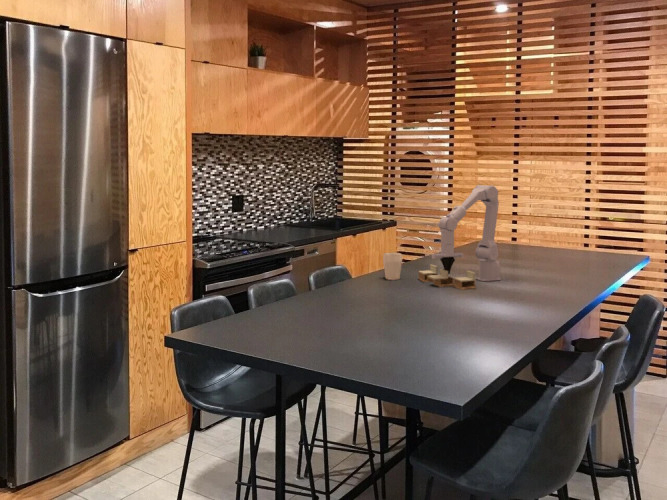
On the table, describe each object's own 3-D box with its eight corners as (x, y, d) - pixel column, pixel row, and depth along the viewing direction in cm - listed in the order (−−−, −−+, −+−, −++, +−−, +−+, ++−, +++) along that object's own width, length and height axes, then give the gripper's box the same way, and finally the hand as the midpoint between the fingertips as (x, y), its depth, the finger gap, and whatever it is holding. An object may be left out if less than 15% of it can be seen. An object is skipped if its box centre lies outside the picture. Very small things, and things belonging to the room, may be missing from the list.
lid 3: (468, 278, 300) (468, 270, 299) (475, 280, 293) (475, 272, 293) (454, 279, 298) (454, 271, 298) (460, 281, 292) (461, 273, 291)
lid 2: (441, 276, 306) (441, 268, 306) (448, 278, 300) (448, 271, 299) (427, 276, 305) (427, 269, 304) (433, 279, 298) (433, 271, 298)
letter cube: (428, 279, 317) (429, 273, 317) (432, 280, 315) (432, 274, 314) (423, 280, 316) (423, 274, 316) (427, 281, 313) (427, 275, 313)
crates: (447, 277, 321) (447, 270, 321) (475, 288, 294) (475, 280, 293) (418, 279, 318) (418, 272, 317) (443, 290, 290) (443, 283, 290)
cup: (401, 280, 316) (400, 255, 314) (382, 280, 318) (381, 255, 316) (403, 277, 325) (402, 252, 323) (384, 276, 327) (384, 252, 325)
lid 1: (431, 271, 319) (431, 264, 319) (437, 273, 312) (437, 266, 312) (418, 272, 317) (418, 265, 317) (424, 274, 311) (424, 267, 310)
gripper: (458, 242, 307) (458, 271, 309) (429, 243, 303) (428, 273, 305) (465, 244, 300) (465, 274, 302) (435, 245, 297) (435, 275, 298)
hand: (447, 273), depth 303 cm, fingers closed
